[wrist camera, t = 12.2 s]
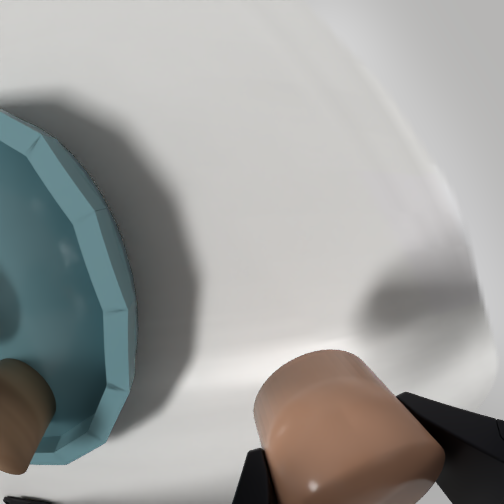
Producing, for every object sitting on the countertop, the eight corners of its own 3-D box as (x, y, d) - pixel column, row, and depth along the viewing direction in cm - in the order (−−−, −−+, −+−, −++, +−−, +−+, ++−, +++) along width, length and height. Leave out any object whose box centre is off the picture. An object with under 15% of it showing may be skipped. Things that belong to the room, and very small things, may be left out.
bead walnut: (25, 426, 13) (-2, 476, 9) (-18, 369, 12) (-57, 412, 8) (70, 413, 13) (44, 471, 9) (23, 348, 12) (-20, 396, 8)
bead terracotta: (374, 421, 10) (433, 499, 6) (268, 459, 10) (299, 556, 6) (367, 331, 10) (456, 410, 5) (238, 374, 9) (267, 493, 5)
